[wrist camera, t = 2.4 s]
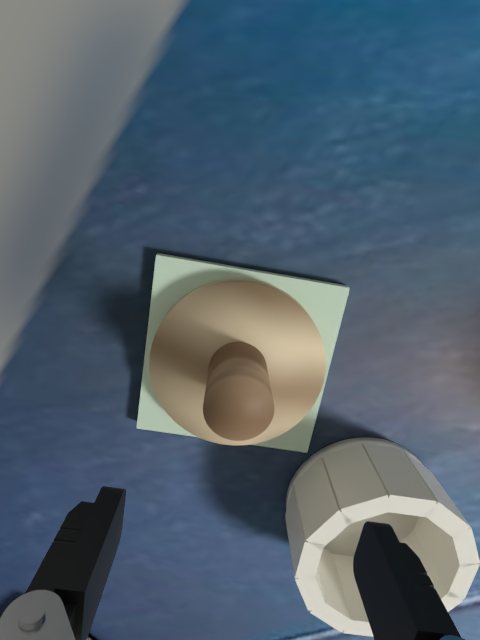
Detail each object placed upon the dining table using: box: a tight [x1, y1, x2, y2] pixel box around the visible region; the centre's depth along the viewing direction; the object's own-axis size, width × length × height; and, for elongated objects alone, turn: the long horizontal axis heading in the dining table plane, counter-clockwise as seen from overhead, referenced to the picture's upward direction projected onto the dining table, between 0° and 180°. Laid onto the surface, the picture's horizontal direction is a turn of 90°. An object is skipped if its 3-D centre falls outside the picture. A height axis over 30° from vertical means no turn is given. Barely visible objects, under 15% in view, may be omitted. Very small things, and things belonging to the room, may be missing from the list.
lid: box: [149, 278, 326, 446], centre depth 23 cm, size 11×11×6 cm
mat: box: [137, 253, 350, 453], centre depth 26 cm, size 12×12×1 cm
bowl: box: [285, 437, 480, 637], centre depth 27 cm, size 11×11×6 cm
